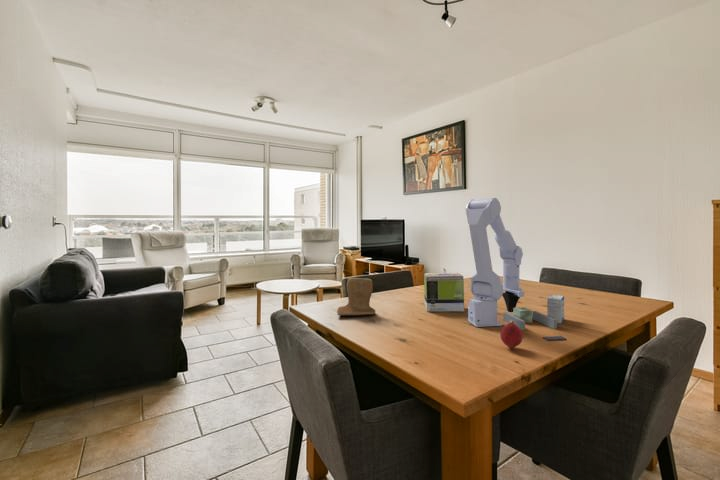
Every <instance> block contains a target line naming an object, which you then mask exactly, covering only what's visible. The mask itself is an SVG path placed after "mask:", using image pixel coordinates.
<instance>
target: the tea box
mask: <svg viewBox="0 0 720 480" xmlns="http://www.w3.org/2000/svg"><path fill="white" fill-rule="evenodd" d="M423 283H424V284H423V286H424V289H423V290H424V294H423V295H424V306H425V309H426V311H427V312H465V289H464V288H465V285H464V275H463V274H461V273H459V272H436V273H435V272H432V273H431V272H430V273H429V272H426V273H424V274H423Z"/></svg>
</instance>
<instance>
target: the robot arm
mask: <svg viewBox="0 0 720 480" xmlns="http://www.w3.org/2000/svg"><path fill="white" fill-rule="evenodd" d="M501 211H502V206H501V203H500V201H499V199H498V198H496V197H492V198H481V199H470V200H469V201H468V203H467V205H466V206H465V212H466V219H467V223H468V226H469V233H470V238H471V245H472V252H473V258H474V265H475V270H476V271H475V273H474V274H473V275H472V276H471V277H470V291H471V294H472V295H473V298H472V299H469V301H468V306H467V308H468V310H467V315H468V316H467V321H468V322H469V323H470V324H471V325H473V326H475V327H476V328H479V327H480V328H481V327H483V328H485V327H502V326H503V324H502V323H501V322H499V321H498V300H500V299H501V297H503V301H504V303H505V306H506V307H505V308H506V310H507V311H506V312H507V313H513V308H517V304H518V303H519V302H518V301H519V300H520V299H521V298H524V297H525V291H523V287H520V266H521V265H522V258H523V255H524V253H523V248H522V247H521V246H519V245H517V243H516V241H515V239H514V238H513V235H512V232H510V231H509V230H507V229H506V228H505V225H504V222H503V219H502V218H501V213H502V212H501ZM489 225H490V227H491V229H492V230H493V231H494V233H495V235H494V239H495V241H496V244H497V246H498V247H499V249H498V251H499V256H500V258H501V260H502V265H503V266H502V277H503V278H502V281H501V278H500V277H501V276H499V275H498V274H497V273H496V272H494V270H493V265H492V258H491V252H490V244H489V238H488V232H487V231H488V230H487V227H488V226H489ZM504 291H505V292H504Z"/></svg>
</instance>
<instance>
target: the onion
mask: <svg viewBox="0 0 720 480" xmlns="http://www.w3.org/2000/svg"><path fill="white" fill-rule="evenodd" d="M523 335H524V334H523V332H522V330H520V328H519V327H518V326H516V325H515V324H514V321H512V320H511V321H510V322H509V323H507V324H505V325H504V326H503V327H502V328H501V330H500V335H499V336H500V339H501V341H502V343H503V344H504V345H505V346H507V347H508V348H509V349H511V350H512V349H515V348H516V347H517V346H519V345H520V344H521V343H522V342H523V338H524V336H523Z"/></svg>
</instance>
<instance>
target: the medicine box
mask: <svg viewBox="0 0 720 480" xmlns="http://www.w3.org/2000/svg"><path fill="white" fill-rule="evenodd" d="M546 304H547V306H546V307H547V308H546V309H547V313H546V314H547V316H549V317H551V318H554V319H556V320H557V325H558V324H559V325H562V323H563V321H564V320H565V296H564V295H558V294H557V295H556V294H552V295H550V296H549V297H548V298H547V302H546Z"/></svg>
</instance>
